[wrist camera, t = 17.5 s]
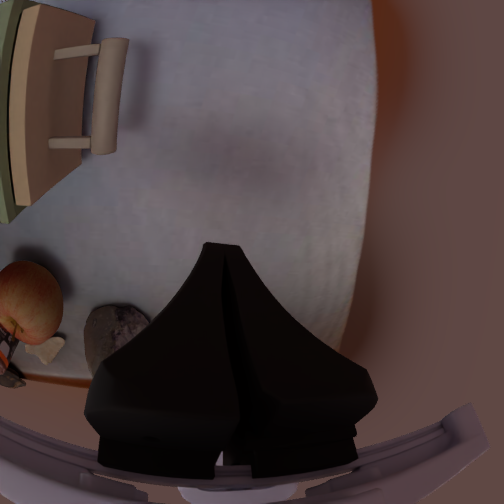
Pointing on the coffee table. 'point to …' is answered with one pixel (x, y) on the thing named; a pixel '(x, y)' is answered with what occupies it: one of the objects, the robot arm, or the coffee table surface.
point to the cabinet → (3, 32)
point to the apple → (30, 302)
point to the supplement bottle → (6, 348)
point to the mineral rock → (110, 332)
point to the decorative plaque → (11, 379)
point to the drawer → (58, 98)
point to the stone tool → (46, 349)
